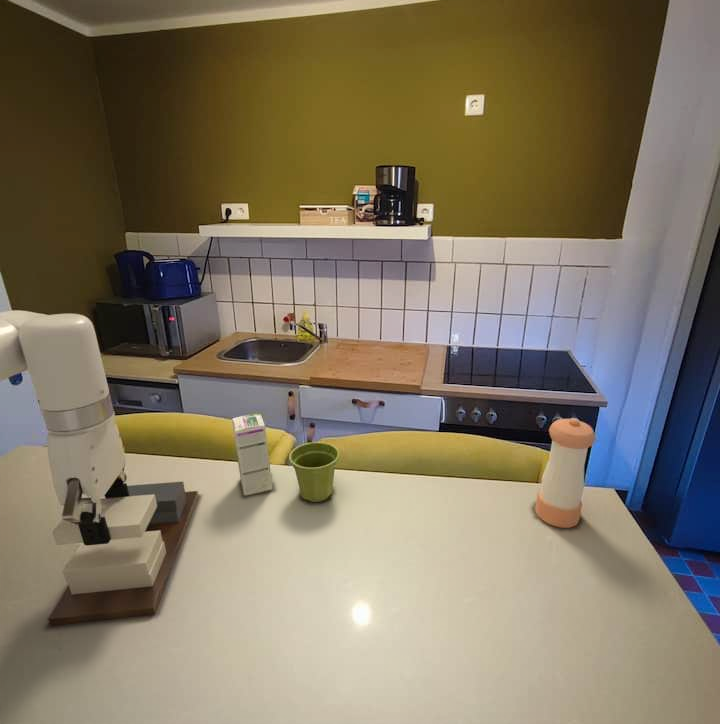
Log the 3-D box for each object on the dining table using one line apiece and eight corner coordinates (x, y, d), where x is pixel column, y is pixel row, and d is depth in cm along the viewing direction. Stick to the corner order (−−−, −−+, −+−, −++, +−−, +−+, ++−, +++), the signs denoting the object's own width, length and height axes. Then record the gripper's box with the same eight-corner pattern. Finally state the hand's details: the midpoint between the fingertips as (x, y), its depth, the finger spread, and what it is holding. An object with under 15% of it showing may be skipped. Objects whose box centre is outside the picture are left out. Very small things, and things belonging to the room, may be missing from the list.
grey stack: (111, 527, 73) (105, 505, 71) (124, 507, 78) (118, 486, 76) (179, 522, 74) (174, 500, 73) (187, 502, 79) (183, 481, 78)
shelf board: (49, 625, 57) (47, 619, 57) (125, 501, 81) (124, 496, 81) (155, 614, 59) (153, 607, 58) (198, 495, 83) (197, 490, 83)
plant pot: (287, 484, 86) (284, 446, 83) (332, 474, 89) (330, 438, 86) (298, 513, 78) (295, 472, 75) (346, 501, 81) (345, 462, 78)
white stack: (70, 594, 60) (62, 571, 59) (91, 559, 67) (85, 536, 65) (152, 586, 62) (147, 562, 60) (166, 552, 68) (161, 530, 66)
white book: (56, 545, 57) (51, 532, 57) (80, 512, 63) (76, 500, 63) (142, 537, 59) (139, 524, 58) (157, 506, 65) (154, 494, 64)
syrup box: (273, 489, 85) (267, 424, 79) (242, 497, 83) (234, 430, 77) (268, 474, 90) (261, 411, 84) (239, 480, 88) (231, 417, 82)
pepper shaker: (584, 530, 73) (606, 431, 67) (540, 525, 74) (557, 428, 68) (571, 502, 80) (590, 410, 73) (531, 499, 81) (545, 408, 74)
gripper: (80, 387, 62) (107, 489, 69) (3, 449, 46) (47, 575, 53) (134, 384, 63) (156, 485, 69) (76, 444, 47) (112, 569, 53)
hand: (109, 523), depth 61 cm, fingers closed on white book, 6 cm apart
